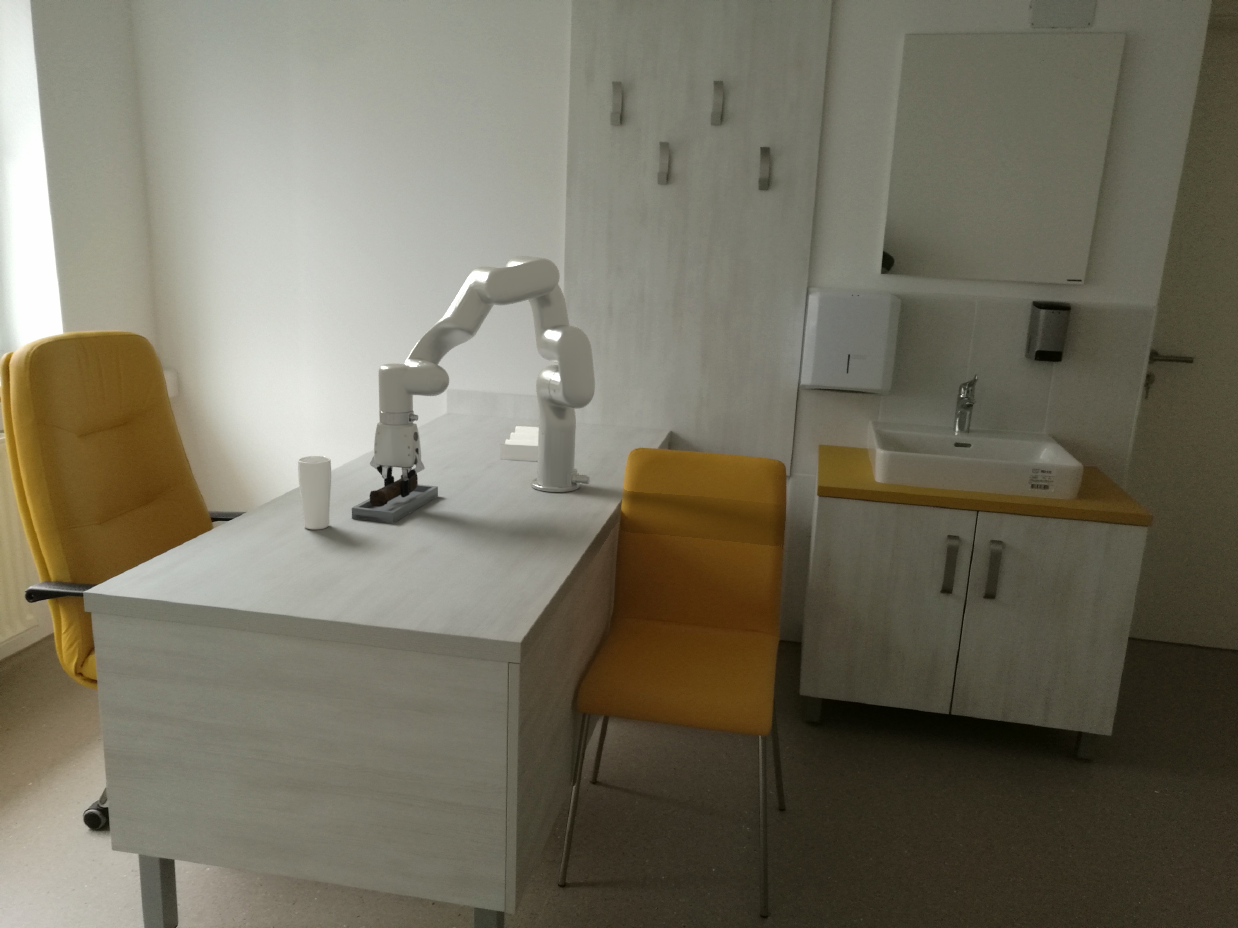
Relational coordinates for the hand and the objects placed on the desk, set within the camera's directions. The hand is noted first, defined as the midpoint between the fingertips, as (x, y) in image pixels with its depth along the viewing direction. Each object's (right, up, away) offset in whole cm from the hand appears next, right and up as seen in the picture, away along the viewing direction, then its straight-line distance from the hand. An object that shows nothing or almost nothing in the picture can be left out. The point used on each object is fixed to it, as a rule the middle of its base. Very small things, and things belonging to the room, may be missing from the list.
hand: (397, 494), depth 219 cm
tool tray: (0, -3, +1) cm, 3 cm away
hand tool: (0, -1, 0) cm, 1 cm away
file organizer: (+25, +11, +69) cm, 74 cm away
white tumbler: (-14, -7, -16) cm, 22 cm away
